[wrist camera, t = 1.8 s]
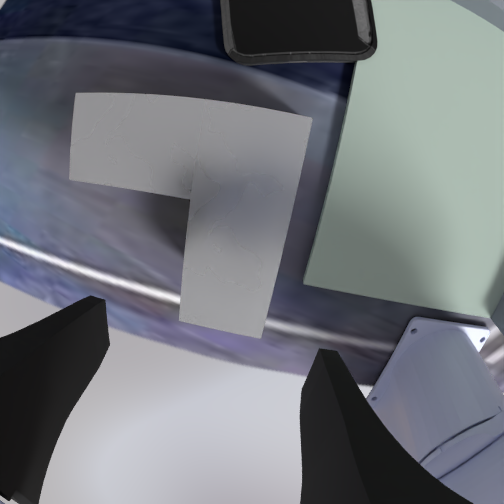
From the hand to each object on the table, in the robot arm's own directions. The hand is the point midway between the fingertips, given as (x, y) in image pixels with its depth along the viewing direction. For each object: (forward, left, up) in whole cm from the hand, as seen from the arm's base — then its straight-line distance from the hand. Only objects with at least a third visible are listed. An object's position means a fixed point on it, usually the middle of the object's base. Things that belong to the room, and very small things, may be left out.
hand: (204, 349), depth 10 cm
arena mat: (+8, -12, -9) cm, 17 cm away
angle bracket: (+2, +3, -9) cm, 10 cm away
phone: (+18, +1, -10) cm, 20 cm away
